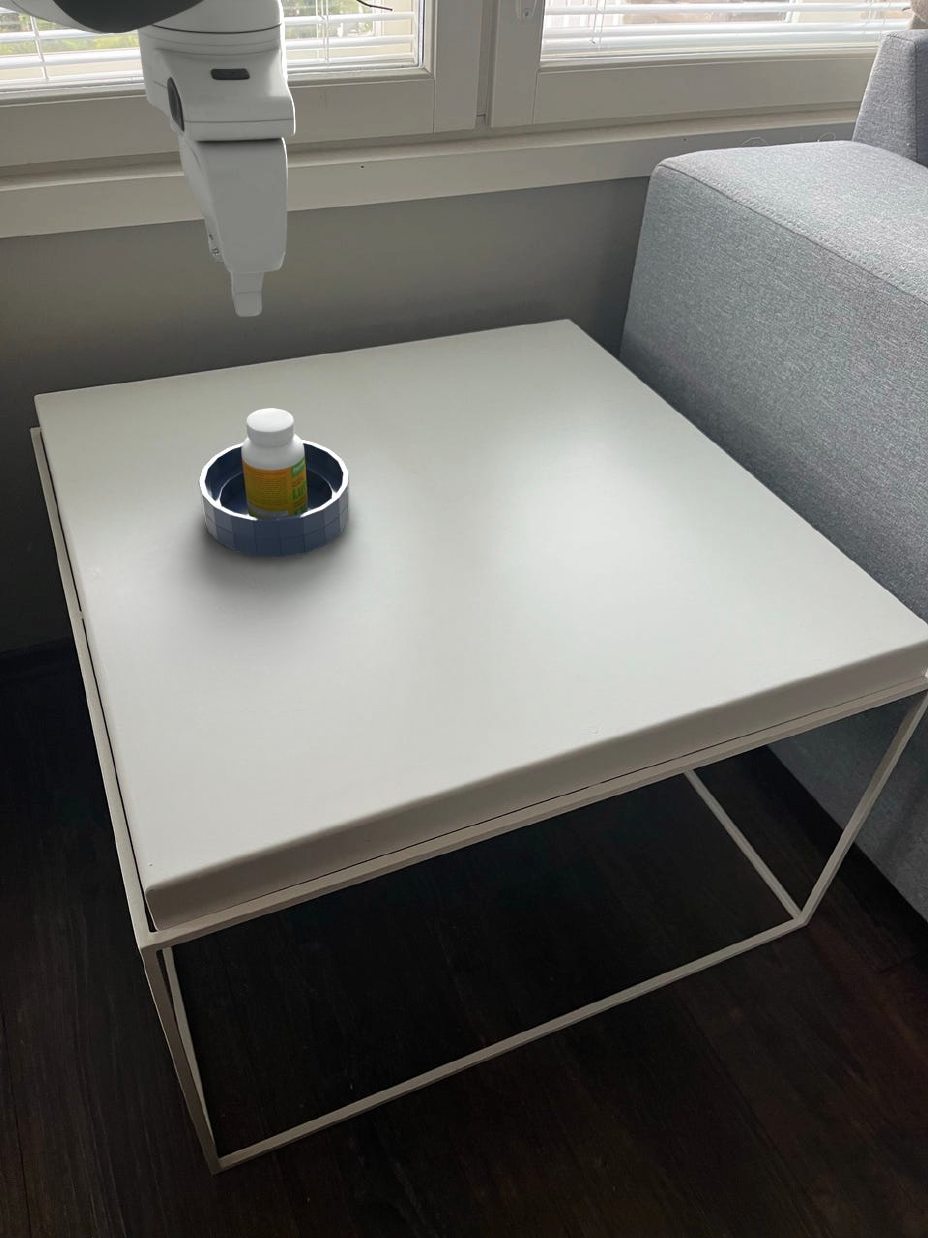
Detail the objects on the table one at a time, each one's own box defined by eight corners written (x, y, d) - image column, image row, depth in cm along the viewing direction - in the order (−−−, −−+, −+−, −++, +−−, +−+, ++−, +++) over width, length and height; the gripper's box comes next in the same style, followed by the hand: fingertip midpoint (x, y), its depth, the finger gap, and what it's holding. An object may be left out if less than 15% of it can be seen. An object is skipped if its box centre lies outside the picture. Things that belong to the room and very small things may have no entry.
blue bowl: (218, 574, 83) (212, 531, 80) (195, 489, 92) (189, 448, 89) (365, 548, 87) (365, 507, 84) (330, 469, 95) (328, 429, 92)
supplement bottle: (303, 532, 87) (297, 438, 80) (243, 528, 87) (231, 434, 80) (312, 497, 91) (306, 405, 84) (254, 494, 91) (244, 401, 84)
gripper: (143, 32, 67) (170, 233, 76) (188, 118, 53) (214, 352, 62) (235, 31, 69) (250, 228, 78) (301, 115, 55) (310, 342, 64)
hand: (235, 284), depth 70 cm, fingers open, 8 cm apart
